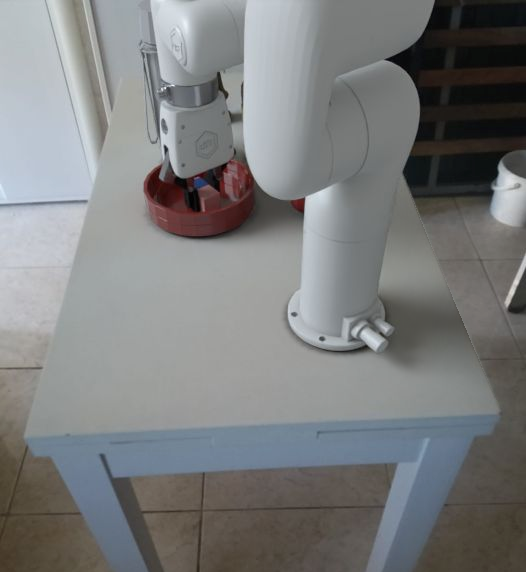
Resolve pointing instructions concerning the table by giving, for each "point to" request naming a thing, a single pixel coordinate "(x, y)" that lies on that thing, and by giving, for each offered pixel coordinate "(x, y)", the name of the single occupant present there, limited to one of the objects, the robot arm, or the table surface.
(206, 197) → the eraser
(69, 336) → the table surface
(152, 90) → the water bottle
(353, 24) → the robot arm
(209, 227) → the bowl
